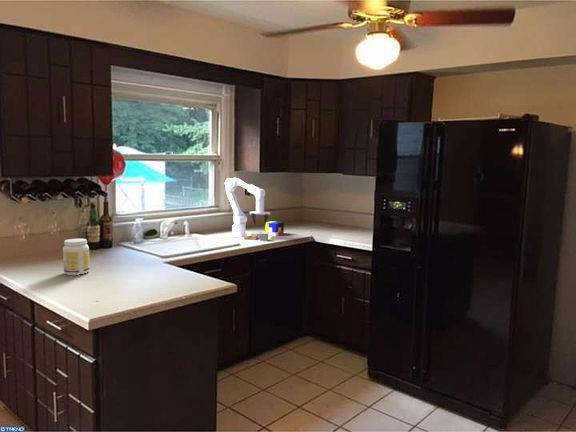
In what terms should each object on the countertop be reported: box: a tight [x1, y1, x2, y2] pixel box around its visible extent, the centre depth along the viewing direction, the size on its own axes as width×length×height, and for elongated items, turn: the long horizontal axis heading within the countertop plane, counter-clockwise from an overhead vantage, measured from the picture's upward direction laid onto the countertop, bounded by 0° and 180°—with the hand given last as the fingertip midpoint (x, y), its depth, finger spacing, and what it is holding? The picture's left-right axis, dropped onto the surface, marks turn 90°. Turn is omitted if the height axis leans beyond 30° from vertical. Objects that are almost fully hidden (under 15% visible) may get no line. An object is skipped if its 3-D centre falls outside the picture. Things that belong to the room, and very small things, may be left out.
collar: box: [243, 233, 259, 241], centre depth 338 cm, size 8×8×3 cm
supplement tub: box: [62, 238, 91, 276], centre depth 237 cm, size 12×12×17 cm
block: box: [259, 232, 269, 242], centre depth 332 cm, size 5×5×5 cm
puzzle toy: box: [264, 220, 285, 237], centre depth 357 cm, size 10×10×10 cm
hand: (259, 224), depth 341 cm, fingers open, 7 cm apart
